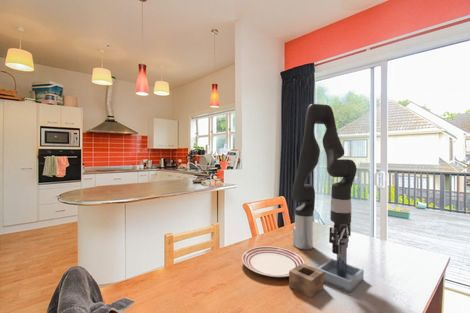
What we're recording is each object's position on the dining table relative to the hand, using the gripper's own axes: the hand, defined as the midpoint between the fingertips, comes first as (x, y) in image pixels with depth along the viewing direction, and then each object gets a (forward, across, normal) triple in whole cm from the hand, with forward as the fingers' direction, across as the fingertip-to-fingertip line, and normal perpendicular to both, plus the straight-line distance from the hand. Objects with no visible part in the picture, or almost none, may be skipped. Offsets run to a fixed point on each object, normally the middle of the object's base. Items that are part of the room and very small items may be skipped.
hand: (340, 250), depth 92 cm
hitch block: (+12, +15, -6) cm, 20 cm away
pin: (+11, -2, 0) cm, 11 cm away
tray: (+12, 0, 0) cm, 12 cm away
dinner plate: (+12, +11, -25) cm, 30 cm away
